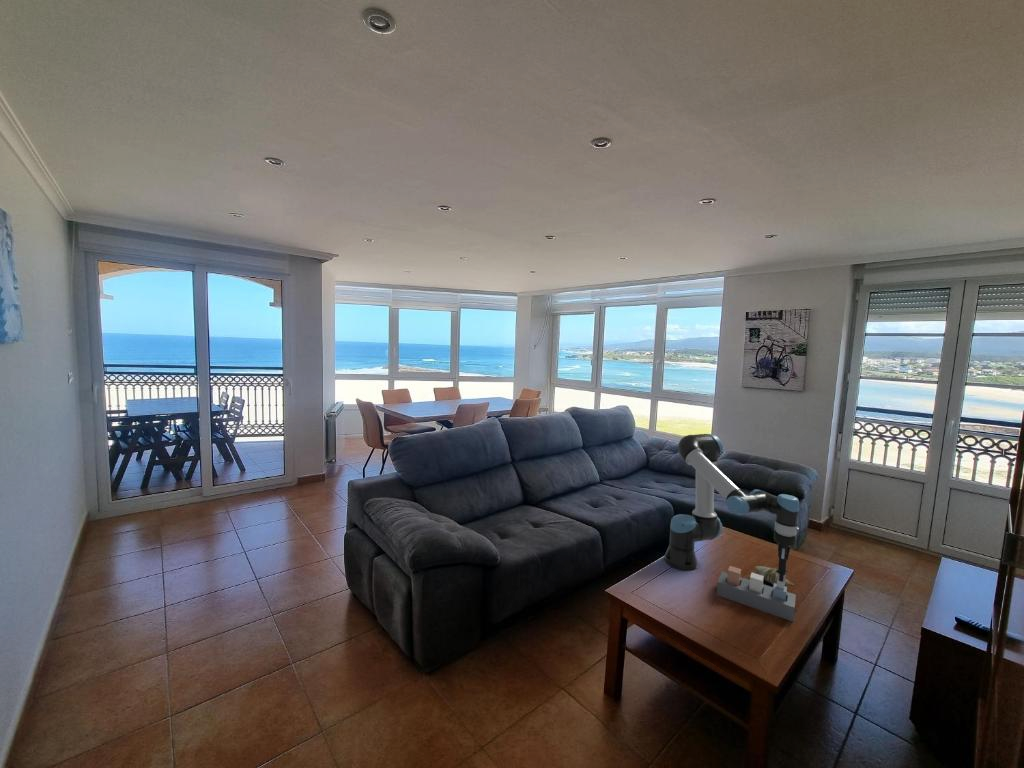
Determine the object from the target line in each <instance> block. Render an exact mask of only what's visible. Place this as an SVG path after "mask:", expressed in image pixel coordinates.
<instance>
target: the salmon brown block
mask: <svg viewBox="0 0 1024 768" xmlns="http://www.w3.org/2000/svg"><path fill="white" fill-rule="evenodd" d="M727 573H728V576H727V582H728V583H731V584H734V585H738V586H740V580H741V577H742V569H741V568H738V567H736V566H732V565H729V567H728V568H727Z"/></svg>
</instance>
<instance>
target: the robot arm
mask: <svg viewBox="0 0 1024 768" xmlns="http://www.w3.org/2000/svg"><path fill="white" fill-rule="evenodd" d="M723 446H724V445H723V443H722V441H721V439H720V438H719V437H718V436H717V435H715V434H712V433H698V434H687V435H684V436H683V437H682V438H681V439H680V440H679V442H678V445H677V449H678V450H677V451H678V454H679V456H680V457H681V459H682V460H683V461H684V463H686V465H689V466H692V468H693V469H695V497H694V498H695V506H694V507H695V508H694V509H693V510H692V512H691V515H690V514H682V513H680V514H676V515H674V516H672V517H671V520H670V523H669V524H670V525H669V528H670V529H669V545H668V547H667V549H666V552H665V554H664V562H665V563H666V564H667V565H668V566H670V567H672V568H675V569H676V570H677V569H678V570H683V571H692V570H695V569H696V568H697V567H698V560H697V556H696V552H695V545H696V544H695V543H698V542H705V541H711V540H714V539H718V538H719V537H720V536H721V534H722V533H723V523H722V522H721V519H720V518H719V517H718V514H717V512H715V506H714V505H715V491H717V493H719V494H720V496H722V497H723V499H724V500H726V507H727V509H728V511H729V512H730V513H732V514H733V515H746V514H747V515H748V514H752V513H758V512H767V513H769V514H771V515H775V520H774V531H773V532H774V534H773V539H774V542H776V543H778V546H777V547H778V548H777V551H778V553H777V557H778V566H777V567H778V569H777V570H776V572H777V573H778V576H777V587H778V588H782V589H784V587H786V586H785V579H786V573H787V574H788V569H787V561H788V559H789V555H790V552H791V551H790V550H791V547H794V546H796V544H797V532H798V531H799V527H798V522H799V521H798V519H799V512H800V501H799V498H798V497H796V496H794V495H790V494H785V493H781V494H778V496H776V495H775V494H771V493H769V492H766V491H764V490H760V489H753V490H751V491H750V492H749V493H748V494H747V493H745V492H744V491H742V489H741V488H739V487H738V486H737V485H736V484H735V483H734V482H733V481H732V480H731V479H730V478H729V477H727V476H726V475H725V474H724V472H722V471H721V470H720V469H719V468H718V467H717V466H716V465H715V464H717V463H718V460H719V459H718V457H720V456H721V455H722V453H723V452H724V451H723V450H724V447H723Z"/></svg>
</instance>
